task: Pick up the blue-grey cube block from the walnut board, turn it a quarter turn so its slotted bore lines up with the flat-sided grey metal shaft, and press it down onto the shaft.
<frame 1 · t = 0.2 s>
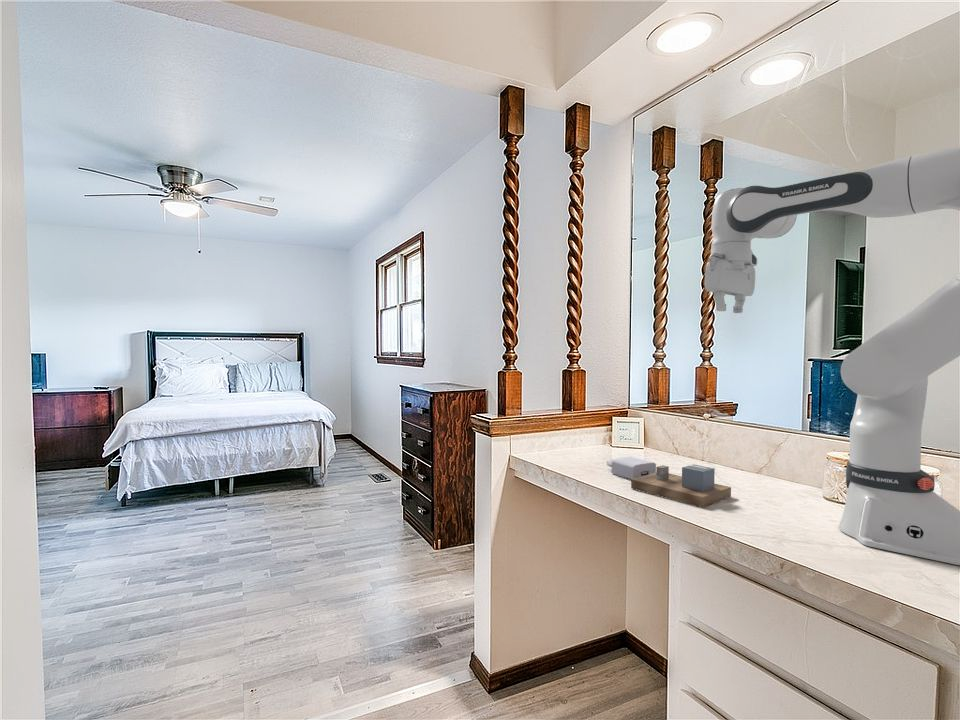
hand: (729, 312, 121), 47 cm above the counter, tool pointing down, fingers open, 8 cm apart
charger: (625, 474, 147), on the counter
blue-grey cube block: (698, 487, 123), point 2 cm above the counter, touching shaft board
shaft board: (679, 492, 127), on the counter
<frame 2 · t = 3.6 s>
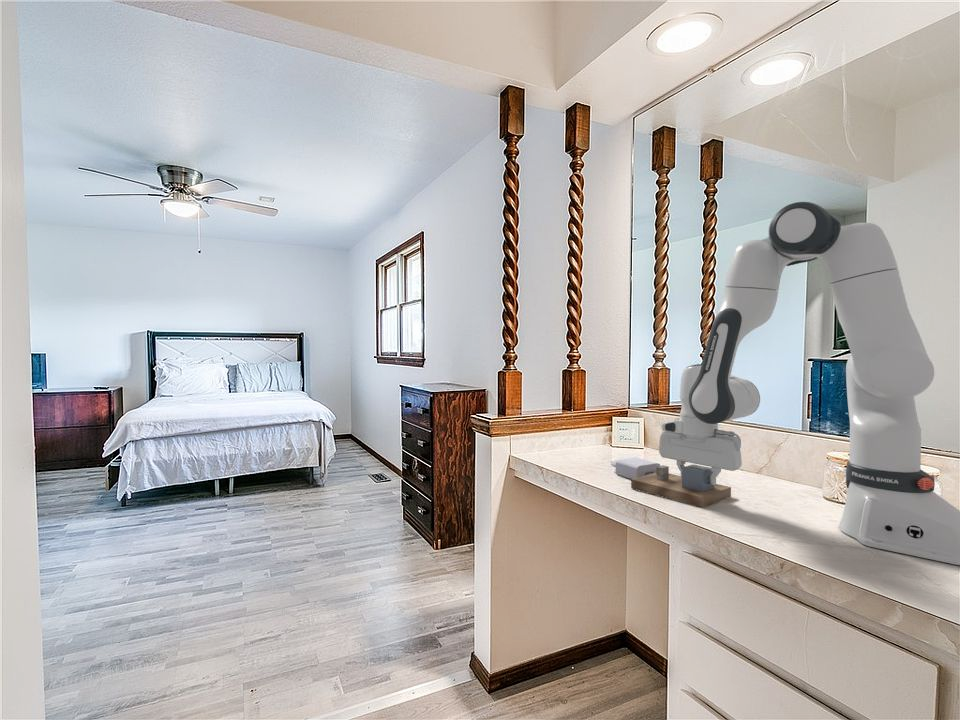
hand: (697, 481, 123), 4 cm above the counter, tool pointing down, fingers closed on blue-grey cube block, 6 cm apart
charger: (630, 475, 147), on the counter
blue-grey cube block: (698, 487, 123), point 2 cm above the counter, touching gripper, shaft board
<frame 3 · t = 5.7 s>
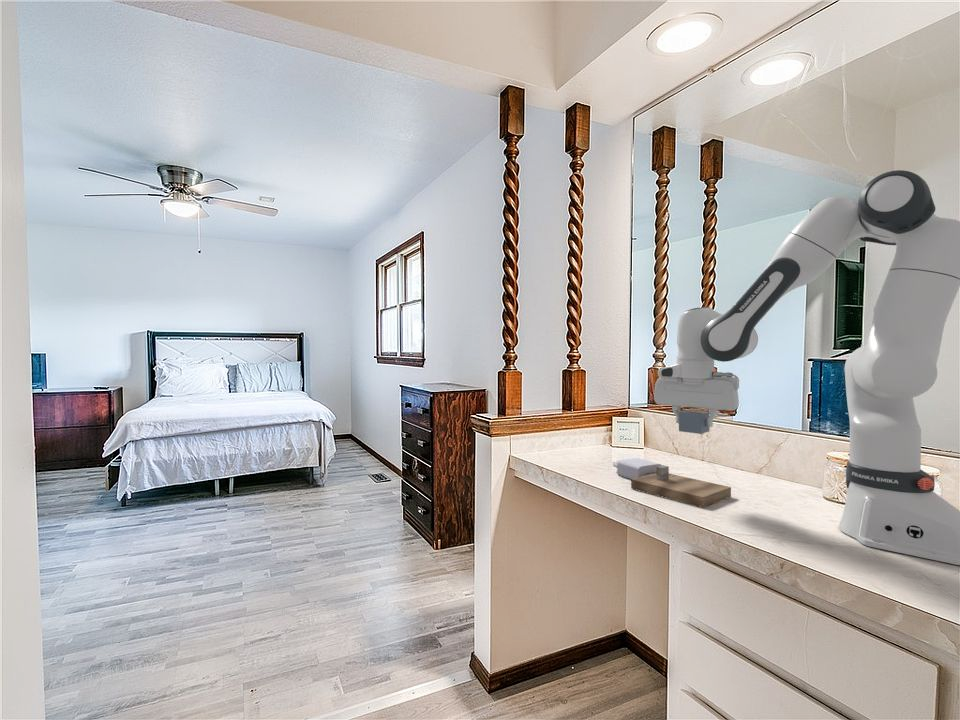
hand: (694, 424, 124), 18 cm above the counter, tool pointing down, fingers closed on blue-grey cube block, 6 cm apart
blue-grey cube block: (694, 431, 124), point 17 cm above the counter, touching gripper
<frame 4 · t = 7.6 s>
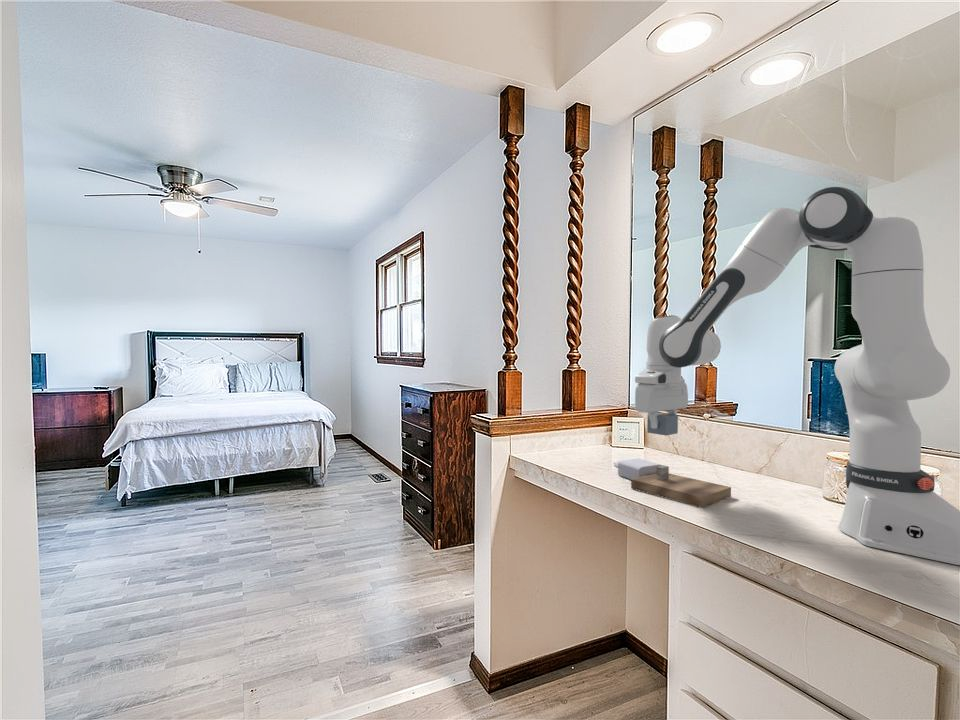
hand: (662, 427, 131), 17 cm above the counter, tool pointing down, fingers closed on blue-grey cube block, 6 cm apart
blue-grey cube block: (662, 433, 131), point 15 cm above the counter, touching gripper
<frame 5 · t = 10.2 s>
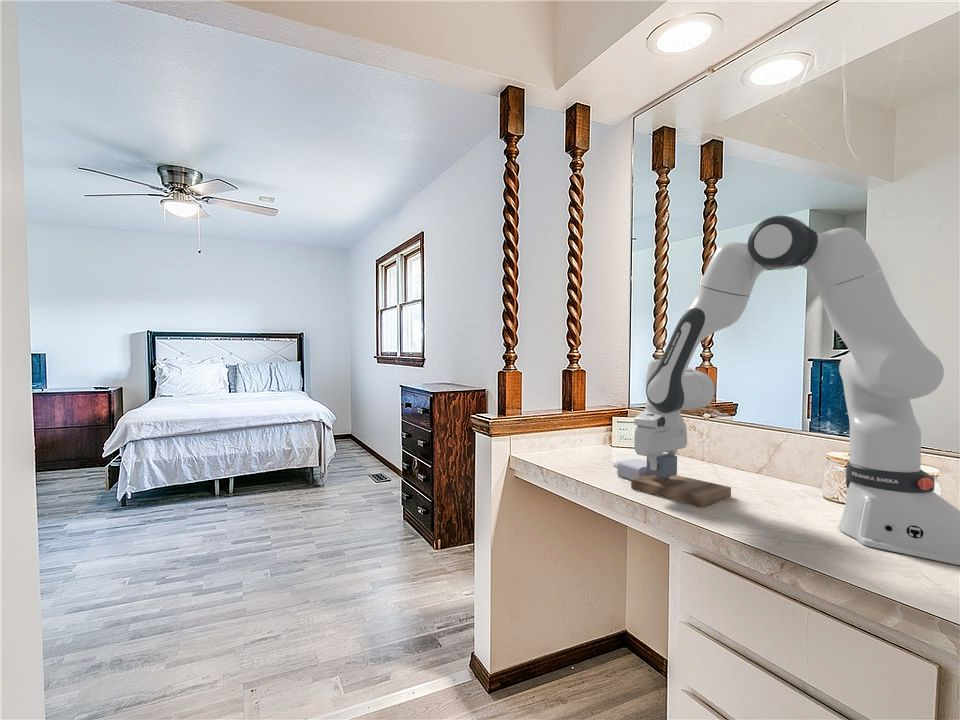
hand: (661, 468, 131), 6 cm above the counter, tool pointing down, fingers closed on blue-grey cube block, 6 cm apart
charger: (632, 476, 145), on the counter, touching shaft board
blue-grey cube block: (661, 473, 131), point 4 cm above the counter, touching gripper
when the fingers open (4 cm above the counter, at t = 12.0 s): blue-grey cube block stays where it is, resting on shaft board.
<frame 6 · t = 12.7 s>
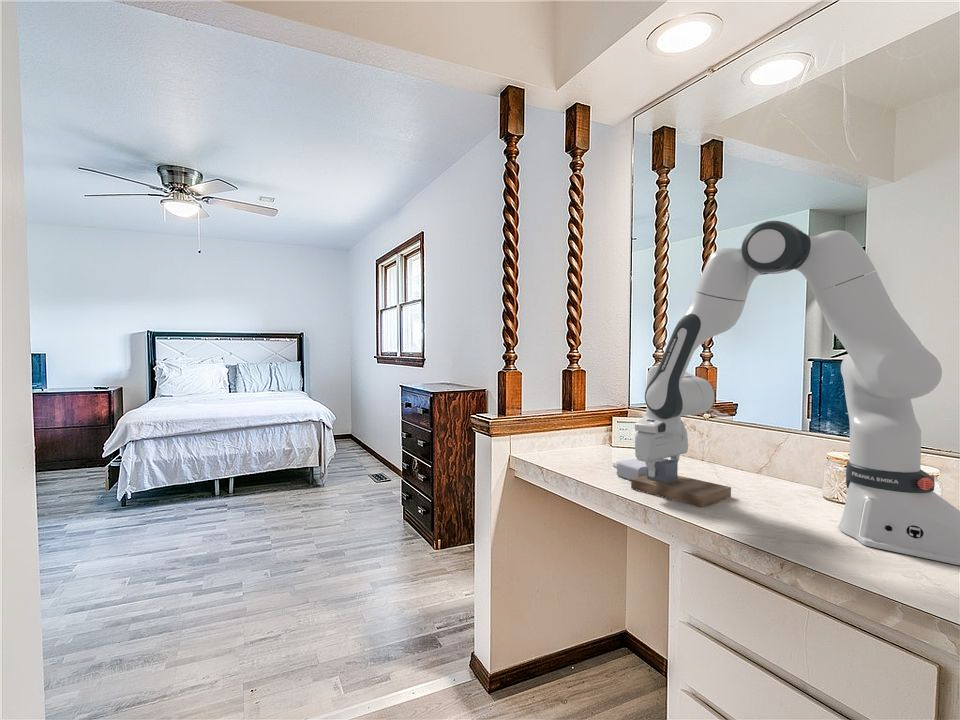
hand: (662, 473, 131), 4 cm above the counter, tool pointing down, fingers open, 8 cm apart
charger: (631, 477, 145), on the counter
blue-grey cube block: (662, 479, 131), point 2 cm above the counter, touching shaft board
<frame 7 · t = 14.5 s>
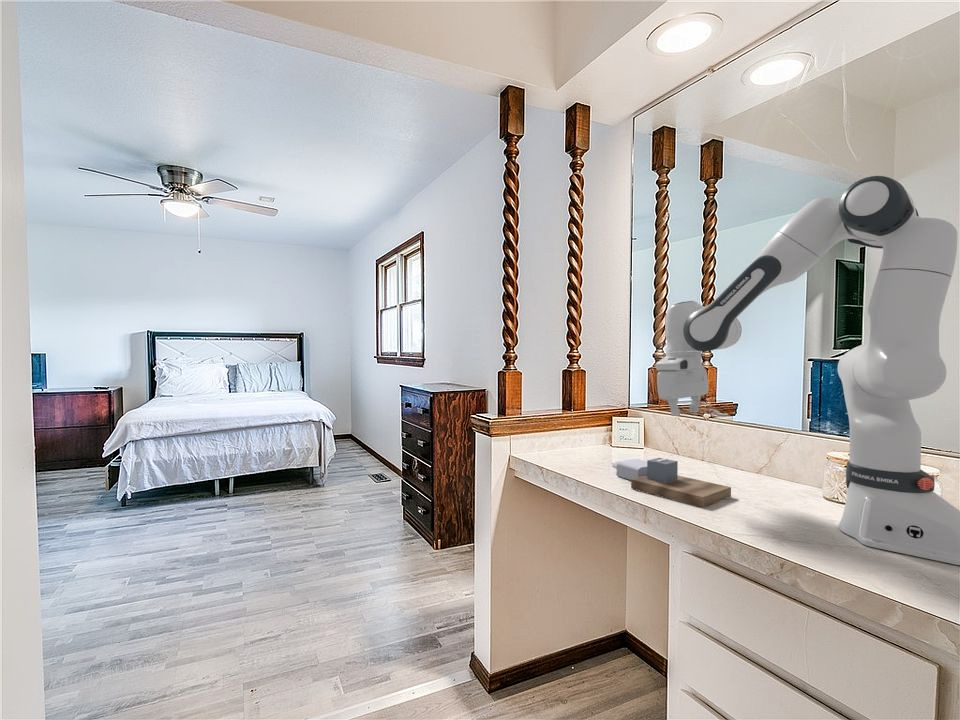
hand: (685, 414, 130), 20 cm above the counter, tool pointing down, fingers open, 8 cm apart
nothing on the counter moved.
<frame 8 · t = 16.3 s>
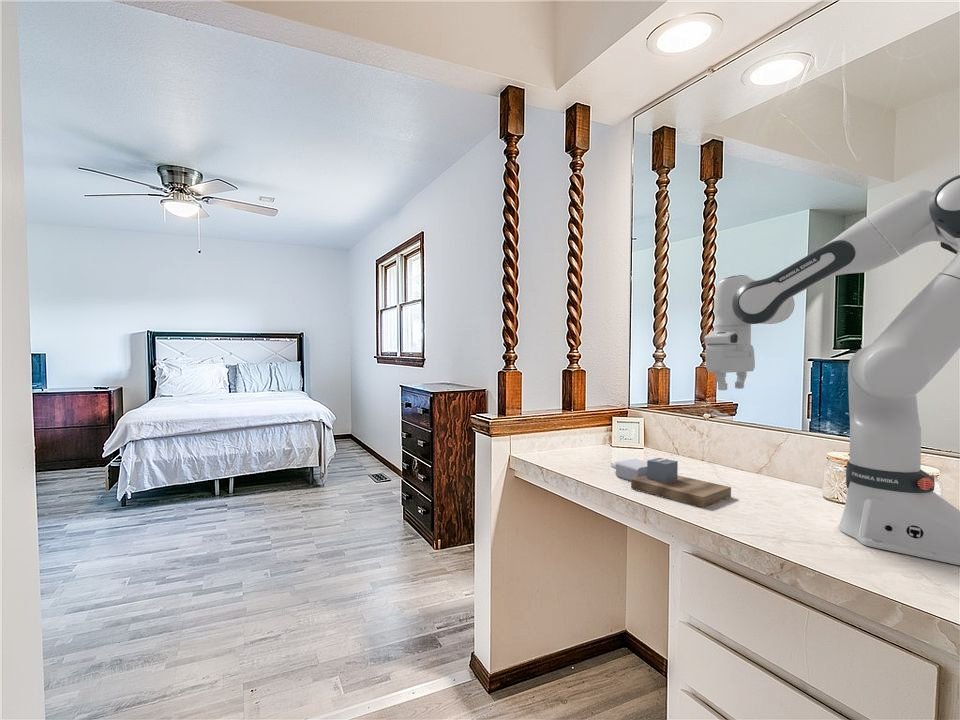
hand: (731, 389, 129), 27 cm above the counter, tool pointing down, fingers open, 8 cm apart
at the end: blue-grey cube block 0.1 cm from the target spot on the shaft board, point 2.5 cm above the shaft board's base; blue-grey cube block tilted 0°; the gripper is holding nothing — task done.
